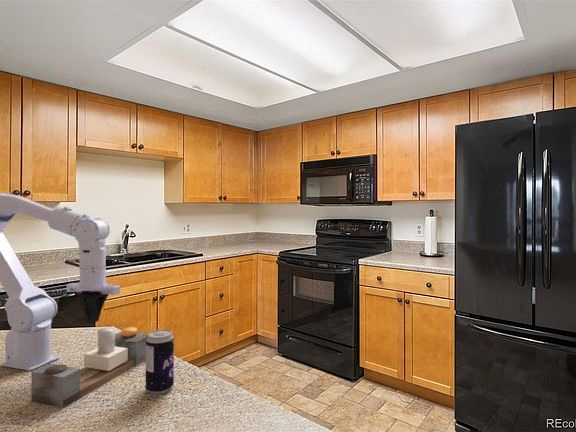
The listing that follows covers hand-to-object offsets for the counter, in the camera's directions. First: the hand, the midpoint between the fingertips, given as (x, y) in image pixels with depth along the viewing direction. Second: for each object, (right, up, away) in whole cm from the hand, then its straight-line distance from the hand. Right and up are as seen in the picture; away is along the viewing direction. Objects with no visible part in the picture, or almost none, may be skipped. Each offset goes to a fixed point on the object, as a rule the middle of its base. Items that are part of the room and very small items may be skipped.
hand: (93, 321), depth 90 cm
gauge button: (+8, -6, +3) cm, 10 cm away
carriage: (+6, -8, -5) cm, 11 cm away
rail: (+5, -11, -8) cm, 14 cm away
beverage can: (+21, -11, -12) cm, 27 cm away
